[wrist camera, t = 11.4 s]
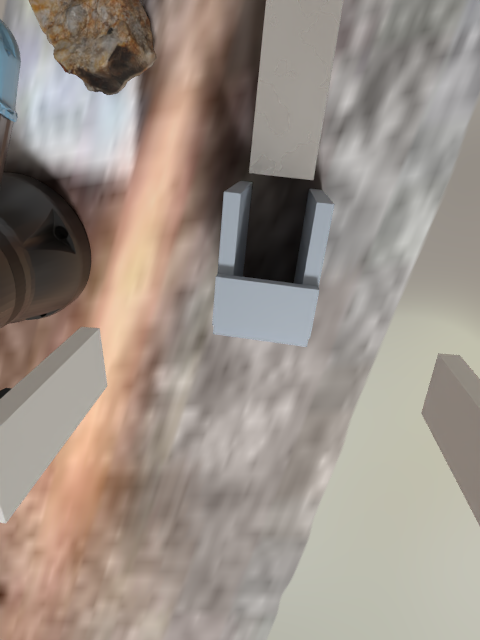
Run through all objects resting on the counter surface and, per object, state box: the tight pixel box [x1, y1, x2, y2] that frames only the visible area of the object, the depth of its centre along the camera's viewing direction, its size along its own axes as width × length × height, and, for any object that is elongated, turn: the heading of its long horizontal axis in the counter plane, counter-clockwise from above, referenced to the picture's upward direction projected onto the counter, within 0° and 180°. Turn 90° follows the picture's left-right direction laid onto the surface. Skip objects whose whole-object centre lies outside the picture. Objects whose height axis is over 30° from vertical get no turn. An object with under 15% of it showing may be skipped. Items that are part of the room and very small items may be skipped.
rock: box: [29, 0, 156, 95], centre depth 30 cm, size 9×6×10 cm
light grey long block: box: [249, 0, 343, 180], centre depth 27 cm, size 5×18×9 cm, turn 175°
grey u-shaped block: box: [212, 181, 334, 347], centre depth 33 cm, size 8×11×11 cm
